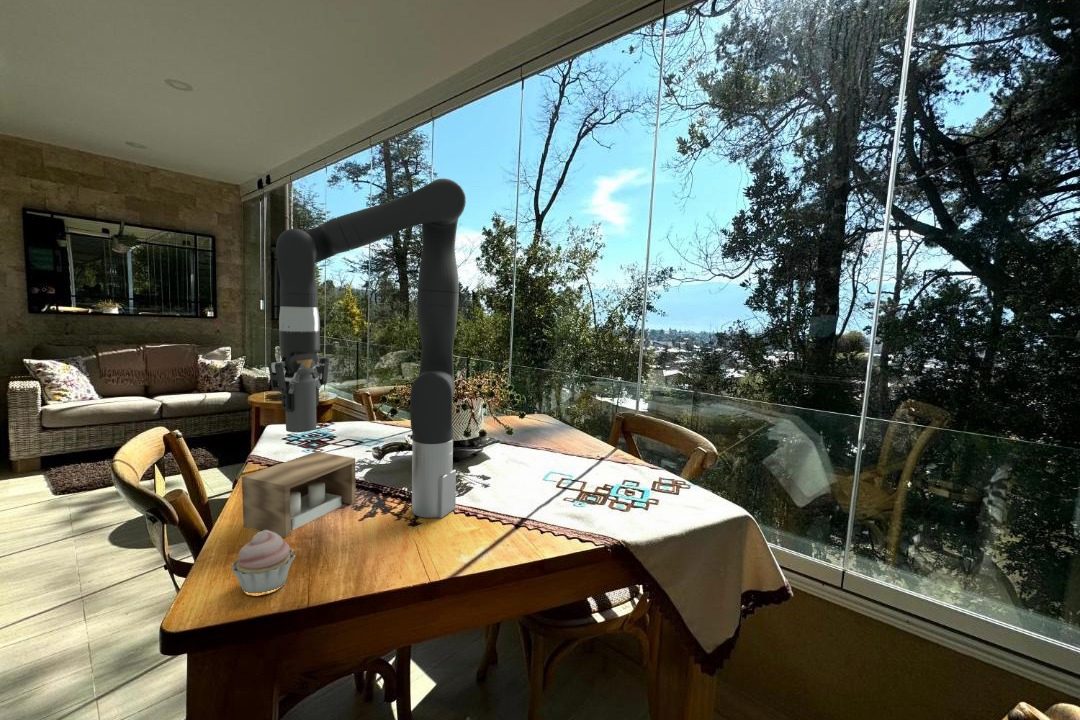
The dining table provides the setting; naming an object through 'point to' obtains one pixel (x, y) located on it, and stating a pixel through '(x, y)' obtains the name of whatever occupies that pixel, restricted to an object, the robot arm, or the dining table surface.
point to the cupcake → (263, 563)
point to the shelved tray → (316, 510)
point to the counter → (293, 488)
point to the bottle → (303, 402)
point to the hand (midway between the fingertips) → (301, 408)
